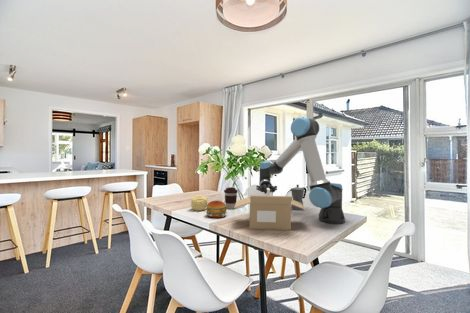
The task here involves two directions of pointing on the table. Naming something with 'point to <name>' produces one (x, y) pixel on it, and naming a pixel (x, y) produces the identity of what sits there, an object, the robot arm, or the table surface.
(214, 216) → the burger
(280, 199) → the near flap
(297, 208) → the coffeepot
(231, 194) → the coffee cup
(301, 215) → the table surface
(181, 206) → the table surface
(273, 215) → the carton
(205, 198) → the sculpture
